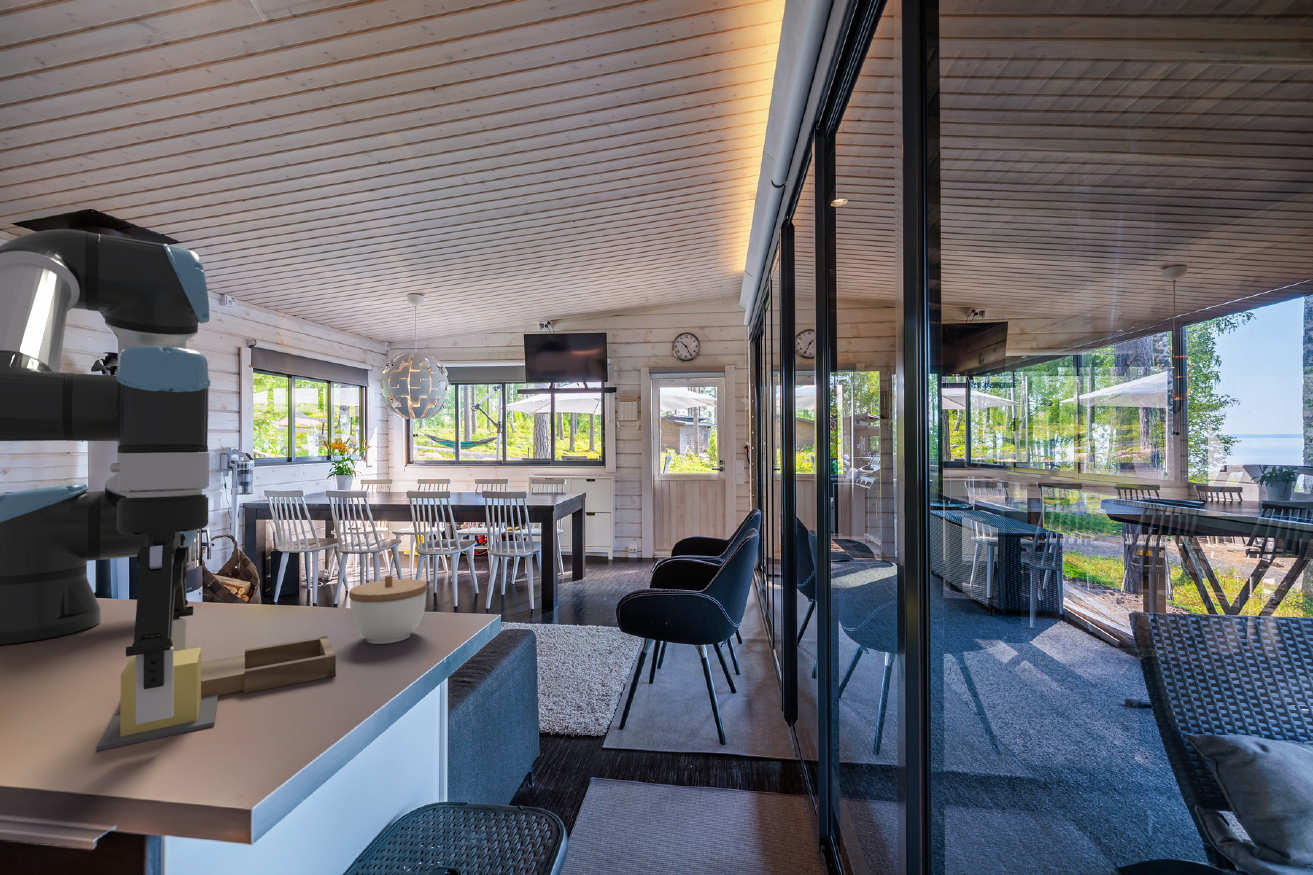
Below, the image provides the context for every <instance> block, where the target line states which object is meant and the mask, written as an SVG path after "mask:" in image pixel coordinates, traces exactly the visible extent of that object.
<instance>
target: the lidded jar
mask: <svg viewBox="0 0 1313 875" xmlns="http://www.w3.org/2000/svg"><path fill="white" fill-rule="evenodd" d="M348 593H349V594H348V598H349V608H350V617H351V621H352V623H353V626H354V629H355V630H356V632H357V634H359V635H360V636H362V637H363V638H364V639H365V640H366V642H367V643H368V644H374V645H383V644H384V645H385V644H395V643H397V642H402V641H405V640H407V639H409V638H410V637H411V634H412V633H413V632H414V631H415V630H416V629H417V627H419V626H420V623H421V621H422V619H423V616H424V612H425V609H426V598H427V595H426V593H427V583H426V582H425V581H423V580H419V579H410V578H409V579H408V578H405V579H404V578H401V579H400V578H399V579H397V578H396V579H395V578H394V579H393V575H392V574H387V575H384V580H378V581H372V582H367V583H362V584H359V585H356V586H354V587H352V588H350V590H349V592H348Z"/></svg>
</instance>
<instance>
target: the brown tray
mask: <svg viewBox="0 0 1313 875" xmlns="http://www.w3.org/2000/svg"><path fill="white" fill-rule="evenodd" d="M336 658H337V656H336V652H335V650H334V648H333V646H332V643H331V641H330V639H329V636H328V635H326V636H318V637H313V638H308V639H307V638H306V639H300V640H294V641H288V642H283V643H282V642H281V643H277V644H270V645H269V644H268V645H265V646H264V645H262V646H257V647H251V648H245V649H244V655H239V656H234V657H227V658H226V657H225V658H221V659H214V660H208V661H201V697H203V696H208V695H213V694H218V697H219V696H225V695H230V694H234V693H239V692H243V694H248V693H252V692H257V691H263V690H269V689H274V688H280V687H284V686H289V685H294V684H295V685H296V684H299V683H300V684H301V683H304V682H310V681H315V680H320V679H325V678H329V677H336V676H337V675H336V674H337V669H336V667H337V666H336V665H337V663H336V662H337V659H336Z"/></svg>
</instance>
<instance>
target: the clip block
mask: <svg viewBox="0 0 1313 875" xmlns="http://www.w3.org/2000/svg"><path fill="white" fill-rule="evenodd" d="M201 662H202V647H201V646H200V647H195V648H194V647H193V648H188V649H187V648H186V650H180V651H174V701H173V717H170V718H165V719H160V720H156V721H151V722H146V723H141V724H136V656H135V657H130V658H129V660H128V662H127V664H126V666H125V667H124V668H123V671H122V672H121V674H120V736H125V735H130V734H135V733H140V732H144V731H149V730H154V729H159V728H164V727H168V726H173V725H178V724H183V723H188V722H192V721H197V718H198V713H199V708H200V704H201Z"/></svg>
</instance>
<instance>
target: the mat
mask: <svg viewBox="0 0 1313 875" xmlns="http://www.w3.org/2000/svg"><path fill="white" fill-rule="evenodd" d="M218 700H219V696H218V694H213V695H208V696H203V697H201V704H200V708H199V713H198V718H197V721H192V722H188V723H183V724H178V725H173V726H168V727H164V728H159V729H154V730H149V731H144V732H140V733H135V734H130V735H125V736H120V712H115V713H113V715H112V717H111V719H110V721H109V723H108V725H107V727H106V728H105V730H104V732H103V734H102V736H101V738H100V740H99V742H98V743H97V745H96V748H95V749H96V750H95V751H96V752H100V751H103V750H109V749H112V748H113V749H114V748H117V747H118V748H119V747H122V746H127V745H132V744H136V743H140V742H141V743H142V742H145V741H150V740H156V739H160V738H164V737H170V736H174V735H178V734H183V733H188V732H193V731H197V730H201V729H206V728H211V727H214V726H215V723H216V715H217V708H218Z"/></svg>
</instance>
